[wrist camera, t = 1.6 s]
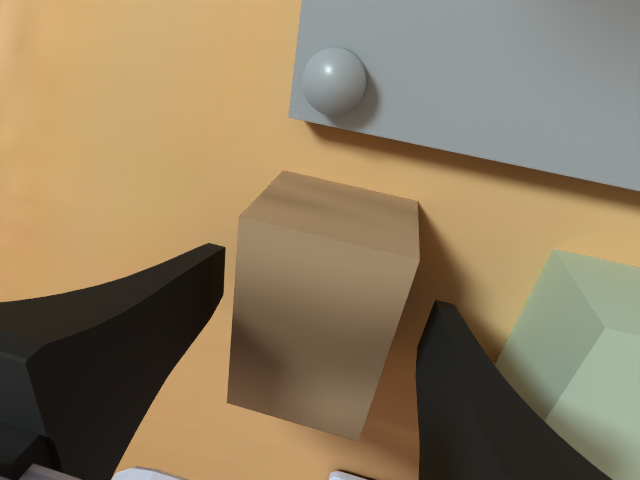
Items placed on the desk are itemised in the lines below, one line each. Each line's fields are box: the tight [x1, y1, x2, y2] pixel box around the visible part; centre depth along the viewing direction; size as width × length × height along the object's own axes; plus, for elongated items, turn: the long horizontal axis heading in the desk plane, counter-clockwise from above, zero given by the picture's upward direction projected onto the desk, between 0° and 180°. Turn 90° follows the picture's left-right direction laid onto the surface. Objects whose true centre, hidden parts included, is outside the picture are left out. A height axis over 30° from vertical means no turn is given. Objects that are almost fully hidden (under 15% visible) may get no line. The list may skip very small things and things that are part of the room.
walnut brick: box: [227, 170, 420, 442], centre depth 13 cm, size 7×4×4 cm, turn 170°
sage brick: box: [495, 249, 640, 480], centre depth 12 cm, size 6×4×4 cm
